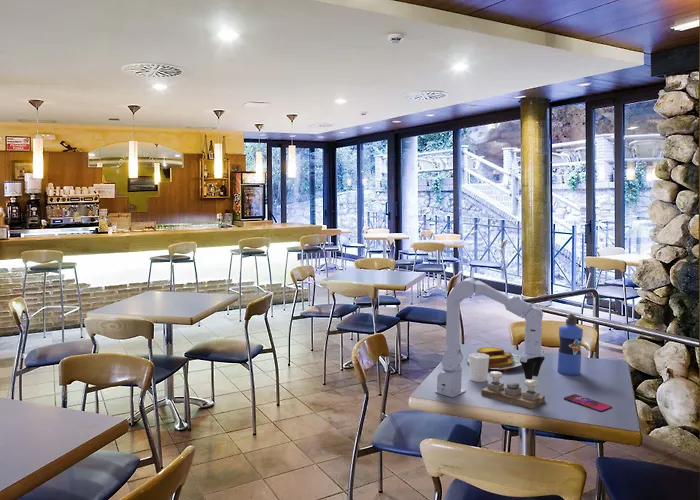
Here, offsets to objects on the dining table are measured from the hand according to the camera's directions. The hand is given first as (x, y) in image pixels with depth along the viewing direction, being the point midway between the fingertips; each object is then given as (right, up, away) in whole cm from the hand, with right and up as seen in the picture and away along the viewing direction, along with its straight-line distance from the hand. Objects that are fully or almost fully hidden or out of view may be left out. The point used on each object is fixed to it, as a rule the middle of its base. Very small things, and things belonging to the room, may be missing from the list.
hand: (531, 377), depth 200 cm
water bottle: (+28, -6, +36) cm, 46 cm away
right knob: (0, -5, 0) cm, 5 cm away
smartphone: (+20, -10, +1) cm, 23 cm away
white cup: (-13, -7, +27) cm, 30 cm away
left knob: (-10, -4, +10) cm, 15 cm away
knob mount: (-5, -9, +6) cm, 12 cm away
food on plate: (0, -6, +47) cm, 48 cm away
